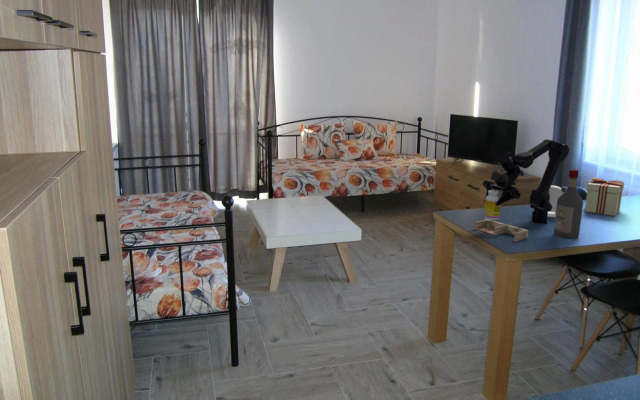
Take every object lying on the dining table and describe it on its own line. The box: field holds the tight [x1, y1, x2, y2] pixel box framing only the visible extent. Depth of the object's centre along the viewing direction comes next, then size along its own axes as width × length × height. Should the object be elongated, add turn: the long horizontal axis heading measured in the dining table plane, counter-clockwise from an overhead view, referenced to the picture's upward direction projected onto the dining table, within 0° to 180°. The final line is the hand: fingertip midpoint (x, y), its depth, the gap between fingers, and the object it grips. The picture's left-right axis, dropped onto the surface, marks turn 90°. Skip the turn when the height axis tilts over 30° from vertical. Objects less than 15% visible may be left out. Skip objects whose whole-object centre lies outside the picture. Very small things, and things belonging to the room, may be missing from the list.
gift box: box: [584, 177, 625, 217], centre depth 280 cm, size 17×18×17 cm
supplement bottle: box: [483, 190, 501, 221], centre depth 243 cm, size 7×7×13 cm
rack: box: [474, 218, 529, 242], centre depth 242 cm, size 22×9×4 cm, turn 37°
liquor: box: [553, 169, 584, 240], centre depth 236 cm, size 9×9×30 cm
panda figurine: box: [547, 185, 567, 218], centre depth 272 cm, size 12×11×15 cm
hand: (490, 203), depth 242 cm, fingers closed on supplement bottle, 7 cm apart
